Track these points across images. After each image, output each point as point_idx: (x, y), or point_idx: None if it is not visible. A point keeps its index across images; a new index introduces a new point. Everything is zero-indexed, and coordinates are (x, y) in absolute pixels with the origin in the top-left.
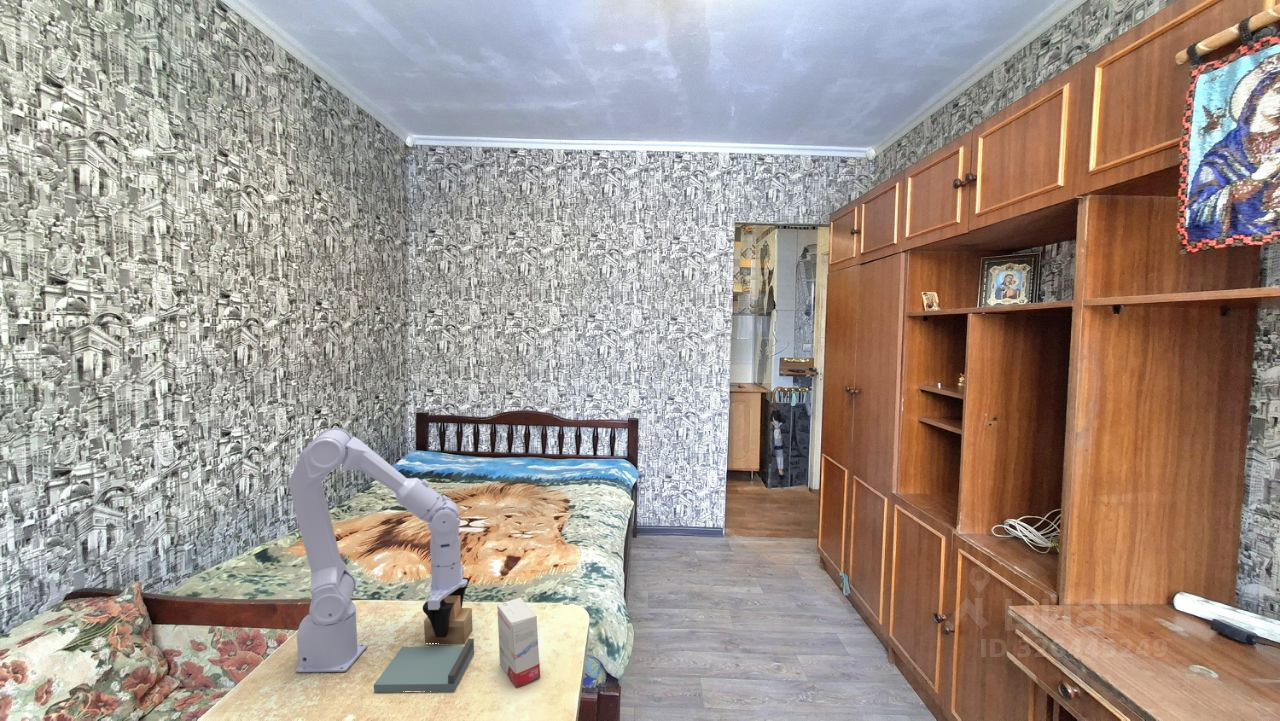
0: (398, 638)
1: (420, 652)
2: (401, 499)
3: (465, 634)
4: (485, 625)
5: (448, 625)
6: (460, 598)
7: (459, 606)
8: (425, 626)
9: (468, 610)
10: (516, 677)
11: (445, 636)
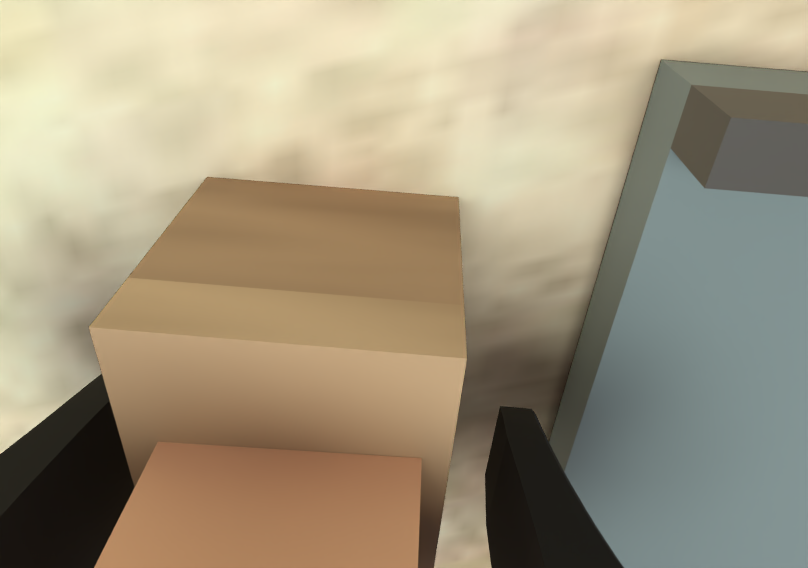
0: None
1: (638, 500)
2: None
3: (421, 235)
4: (95, 52)
5: (530, 486)
6: (1, 542)
7: (179, 500)
8: None
9: (169, 353)
10: None
11: (535, 417)
